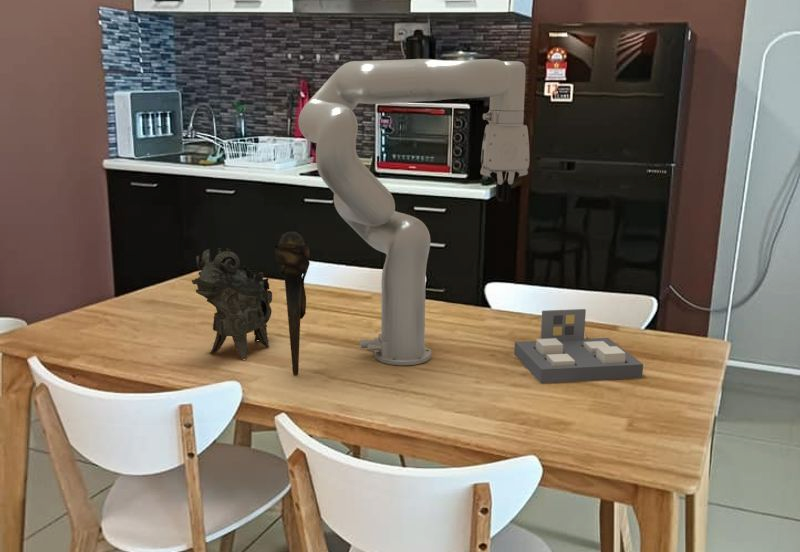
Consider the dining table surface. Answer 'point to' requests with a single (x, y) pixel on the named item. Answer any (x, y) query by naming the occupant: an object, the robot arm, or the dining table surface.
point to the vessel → (234, 299)
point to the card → (563, 324)
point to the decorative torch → (294, 285)
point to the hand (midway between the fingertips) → (502, 201)
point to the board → (576, 363)
